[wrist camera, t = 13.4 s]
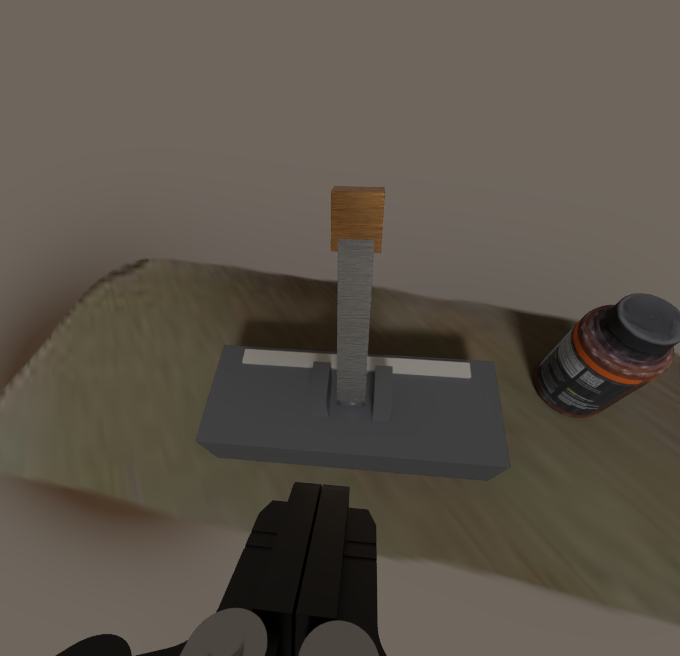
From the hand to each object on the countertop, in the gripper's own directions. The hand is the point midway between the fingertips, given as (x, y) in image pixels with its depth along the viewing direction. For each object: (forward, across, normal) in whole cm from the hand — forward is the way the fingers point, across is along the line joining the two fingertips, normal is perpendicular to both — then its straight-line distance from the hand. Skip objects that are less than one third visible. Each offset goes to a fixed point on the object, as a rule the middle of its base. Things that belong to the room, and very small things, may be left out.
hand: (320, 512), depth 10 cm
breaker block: (+20, 0, +8) cm, 22 cm away
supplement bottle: (+24, -19, +4) cm, 31 cm away
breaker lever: (+16, 0, +3) cm, 16 cm away
